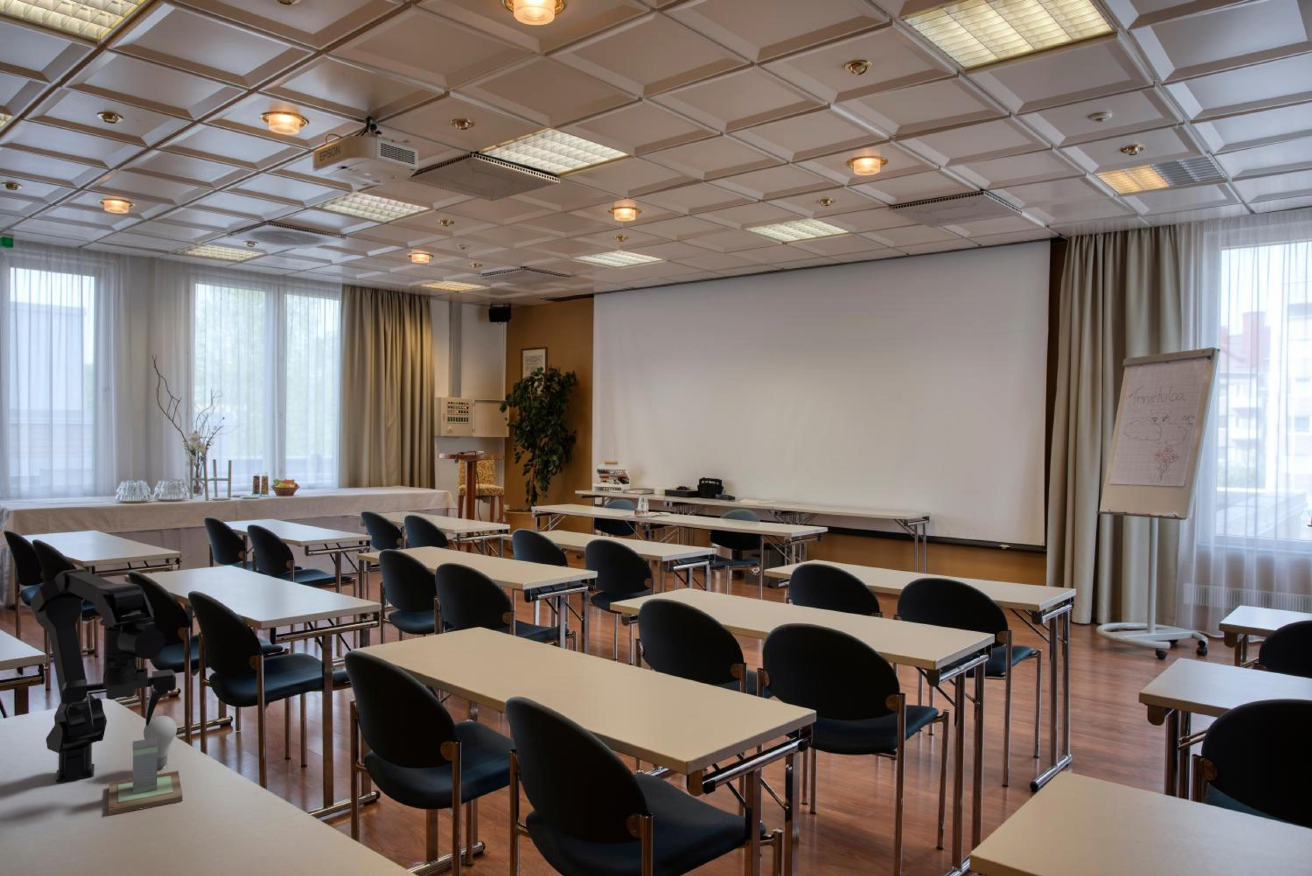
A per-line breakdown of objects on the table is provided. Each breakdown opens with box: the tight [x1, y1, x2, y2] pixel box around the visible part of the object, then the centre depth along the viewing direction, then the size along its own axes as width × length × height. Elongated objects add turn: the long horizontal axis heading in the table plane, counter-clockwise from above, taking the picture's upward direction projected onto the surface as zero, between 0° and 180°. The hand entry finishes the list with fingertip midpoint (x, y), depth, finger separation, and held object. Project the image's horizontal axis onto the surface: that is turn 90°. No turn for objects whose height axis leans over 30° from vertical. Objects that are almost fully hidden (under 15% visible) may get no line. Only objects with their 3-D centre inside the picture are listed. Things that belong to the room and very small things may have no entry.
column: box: [132, 738, 158, 794], centre depth 167 cm, size 4×4×9 cm
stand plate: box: [108, 770, 183, 816], centre depth 168 cm, size 14×12×1 cm
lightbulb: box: [143, 715, 178, 770], centre depth 180 cm, size 6×6×11 cm
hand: (119, 729), depth 168 cm, fingers open, 9 cm apart
